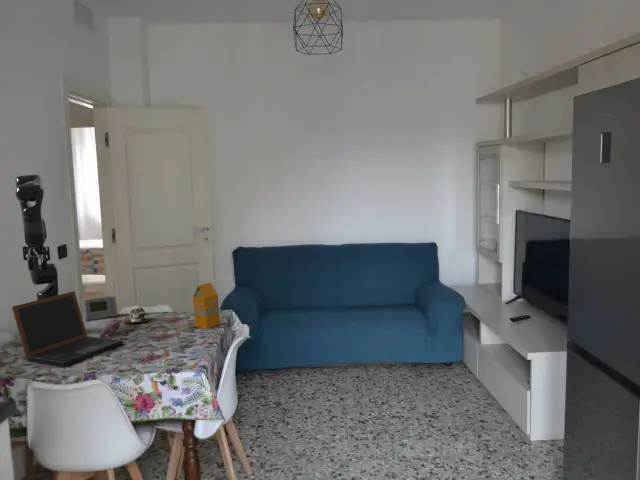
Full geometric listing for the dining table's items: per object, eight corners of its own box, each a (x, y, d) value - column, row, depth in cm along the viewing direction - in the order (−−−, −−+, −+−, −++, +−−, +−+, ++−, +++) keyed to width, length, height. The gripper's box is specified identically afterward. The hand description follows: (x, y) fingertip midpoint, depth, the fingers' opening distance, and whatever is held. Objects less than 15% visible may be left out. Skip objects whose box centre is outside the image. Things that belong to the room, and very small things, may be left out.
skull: (148, 321, 277) (132, 307, 276) (133, 336, 278) (118, 321, 277) (154, 314, 289) (139, 301, 288) (140, 328, 290) (126, 315, 289)
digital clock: (83, 321, 289) (81, 300, 287) (86, 317, 297) (84, 297, 296) (116, 318, 292) (115, 297, 291) (119, 314, 301) (117, 294, 300)
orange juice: (219, 324, 272) (217, 283, 269) (207, 328, 264) (204, 286, 262) (207, 322, 276) (205, 281, 273) (194, 326, 268) (191, 285, 266)
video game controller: (106, 340, 257) (111, 327, 255) (98, 336, 257) (103, 323, 256) (118, 334, 266) (123, 321, 265) (110, 330, 267) (115, 317, 266)
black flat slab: (122, 344, 245) (122, 340, 245) (63, 367, 218) (63, 362, 218) (87, 339, 254) (87, 335, 254) (27, 361, 228) (27, 356, 227)
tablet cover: (74, 291, 254) (73, 291, 254) (12, 306, 227) (11, 306, 228) (87, 336, 254) (86, 336, 254) (27, 356, 227) (25, 357, 228)
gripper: (53, 231, 239) (57, 269, 241) (30, 231, 245) (34, 268, 247) (37, 233, 232) (41, 272, 234) (14, 233, 238) (18, 271, 240)
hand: (38, 270), depth 241 cm, fingers open, 7 cm apart
